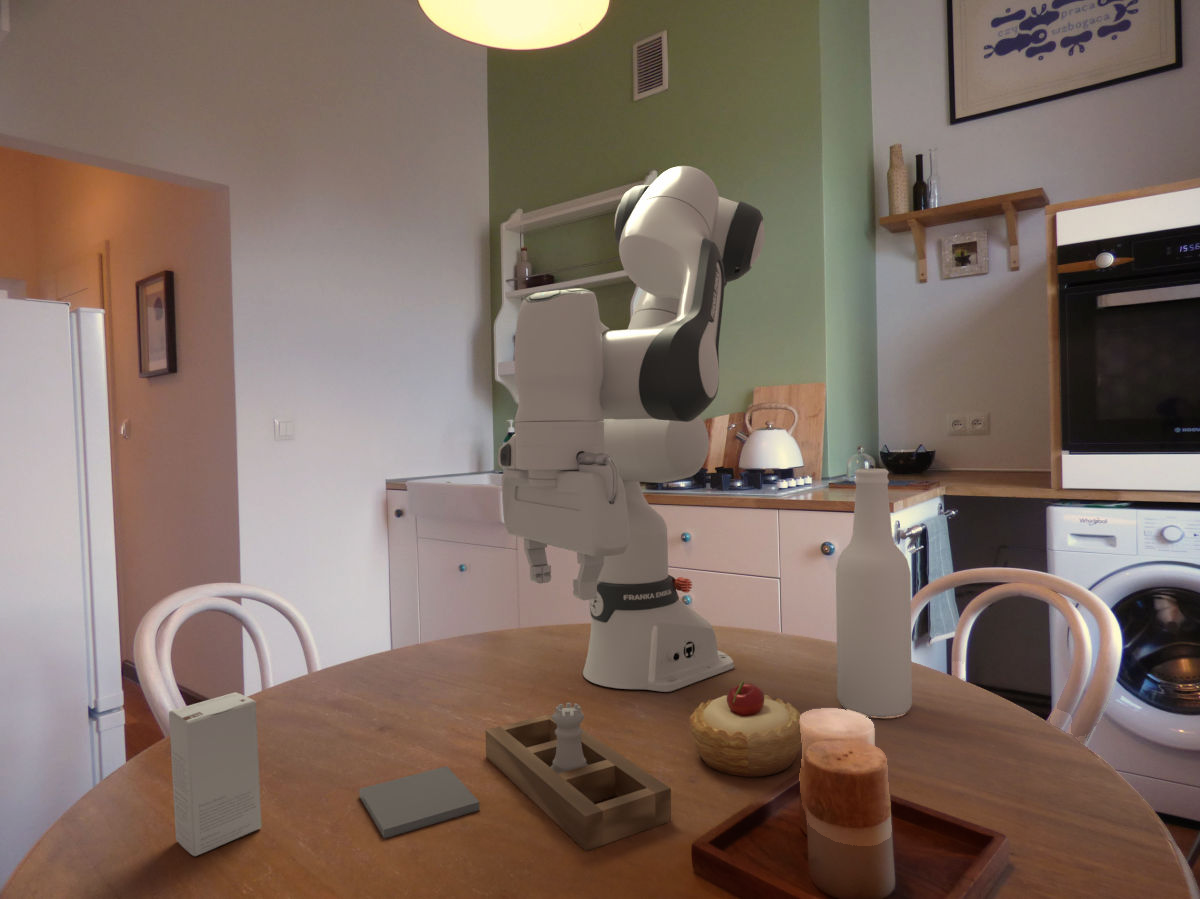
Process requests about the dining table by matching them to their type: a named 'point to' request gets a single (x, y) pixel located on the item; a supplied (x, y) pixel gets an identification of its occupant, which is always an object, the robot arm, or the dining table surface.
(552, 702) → the dining table surface
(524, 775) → the three-compartment wooden tray
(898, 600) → the alcohol
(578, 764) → the rook chess piece
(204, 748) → the skincare box
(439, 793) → the coaster
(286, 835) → the dining table surface
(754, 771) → the pastry
